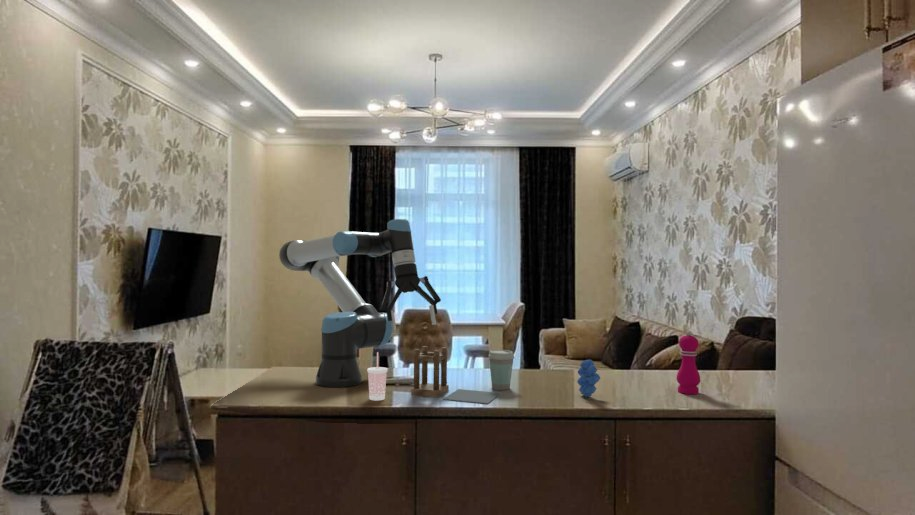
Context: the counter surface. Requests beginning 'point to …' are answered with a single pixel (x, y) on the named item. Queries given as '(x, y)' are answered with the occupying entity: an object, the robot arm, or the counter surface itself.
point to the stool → (425, 387)
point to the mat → (472, 396)
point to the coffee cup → (501, 368)
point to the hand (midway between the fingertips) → (414, 327)
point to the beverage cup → (377, 382)
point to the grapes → (588, 378)
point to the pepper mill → (688, 365)
